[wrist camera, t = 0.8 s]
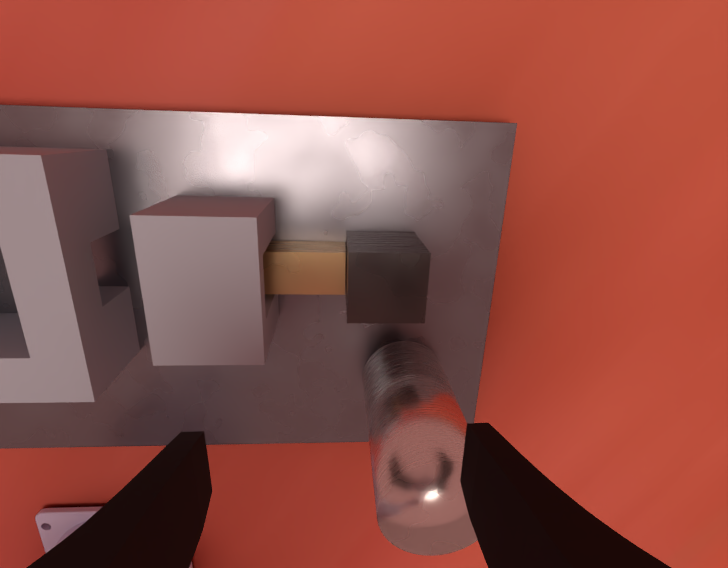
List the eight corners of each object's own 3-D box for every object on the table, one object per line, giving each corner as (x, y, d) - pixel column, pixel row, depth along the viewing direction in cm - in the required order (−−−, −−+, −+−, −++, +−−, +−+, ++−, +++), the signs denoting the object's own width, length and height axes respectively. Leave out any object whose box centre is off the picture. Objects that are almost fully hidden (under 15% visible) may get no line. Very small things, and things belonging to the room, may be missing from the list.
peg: (438, 409, 22) (490, 553, 15) (361, 410, 22) (374, 557, 14) (445, 340, 21) (507, 461, 13) (364, 340, 20) (380, 463, 13)
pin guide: (279, 316, 20) (264, 364, 16) (190, 316, 19) (153, 365, 15) (274, 197, 18) (256, 217, 14) (176, 195, 18) (129, 215, 14)
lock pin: (409, 290, 20) (424, 323, 16) (163, 289, 19) (128, 322, 16) (414, 231, 19) (431, 253, 15) (155, 227, 18) (115, 249, 15)
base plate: (465, 427, 24) (471, 439, 23) (-26, 435, 22) (-42, 449, 21) (507, 123, 18) (517, 123, 17) (-141, 100, 17) (-170, 98, 16)
